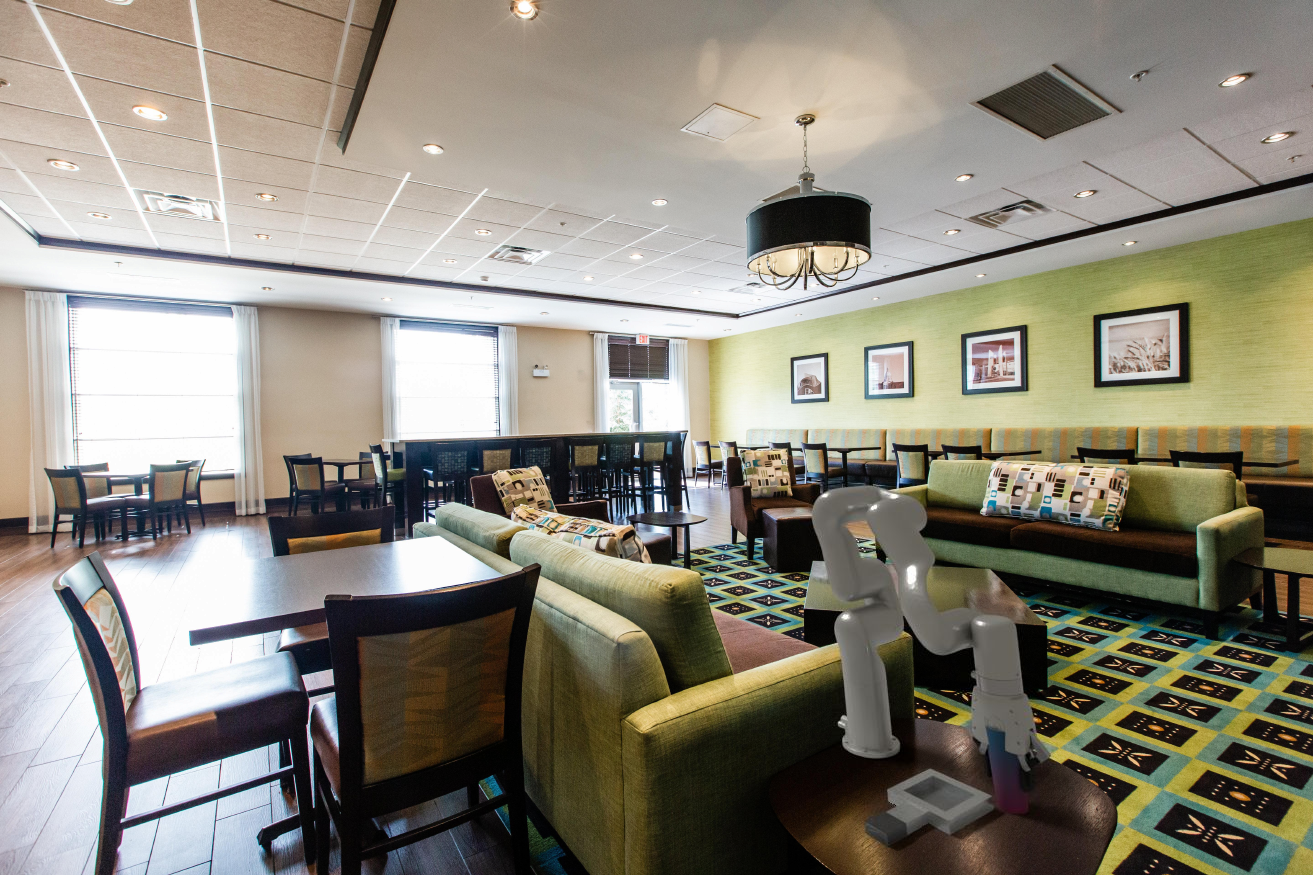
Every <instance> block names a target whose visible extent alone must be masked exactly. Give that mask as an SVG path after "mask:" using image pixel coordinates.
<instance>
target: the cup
mask: <svg viewBox="0 0 1313 875" xmlns="http://www.w3.org/2000/svg"><path fill="white" fill-rule="evenodd" d="M985 727H986V732H987V737H988V742H989V745H987V747H988V753H989V759H990V764H991V770H992V781H993V787H994V792H995V797H996V798H995V800H996V804H997V807H998V808H999V809H1000V810H1002V811H1004V812H1006V813H1008V814H1013V815H1024V814H1027V813H1028V812H1029V792H1027V793H1025V792H1023V791H1022V788H1021V779H1020V769H1022V765H1021V763H1020V761H1019V759H1018V755H1015V754H1012V753H1009V752H1007V751H1005V735H1006V734H1005V732H1004V731H999V730H995V729H992V728H990V727H988V726H986V725H985ZM1025 756H1026V754H1025Z"/></svg>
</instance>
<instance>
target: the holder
mask: <svg viewBox="0 0 1313 875" xmlns="http://www.w3.org/2000/svg"><path fill="white" fill-rule="evenodd" d="M887 800H888V803H889V802H890V803H889V804H891V803H892V804H891V805H893V804H895V805H896V806H895V805H894V807H892V808H891V809H889V810H886V811H885V810H882V811H881V812H879V813H877V814H875V815H873V816H871V817H869V818H867V819H865V820H864V823H865V825H864V827H865V833H866V835H868V836H870V837H872V838H873V839H874V840H877V841H878V842H879V843H881V844H883V845H884V846H886V847H891V846H893V845H895V843H896V844H897V842H898V843H899V841H902V840H903V839H904V838H907V837H908V836H909V835H910V834H912V833H914V832H915V831H917V830H919V829H921V828H922V826H923V827H925V826H926V825H928V823H929V825H930V824H931V826H933V827H934V828H936V829H938V830H940V831H941V832H944V833H945V834H948V835H949V836H951V835H953V834H954V833H957V832H958V831H959V830H961V829H964V828H965V827H966V825H967V826H968V825H970V824H972V823H973V822H975V821H977V820H978V819H981V818H982V817H983V816H985V815H987V814H989V813H990V812H992V811H994V810H995V808H994V799H993V795H991V794H988V793H986V792H984V791H982V790H980V789H978V788H975V787H973V786H971V785H968V784H966V783H964V782H961V781H959V780H956V779H955V778H952V777H950V776H948V775H947V774H946V775H945V774H944V773H941V772H939V771H936V770H934V769H932V768H929V769H926V770H924V771H923V772H921V773H918V774H916V775H914V776H912V777H910V778H907V779H906V780H904V781H902V782H900V783H898V784H896V785H893V786H892V787H889V788H887ZM924 825H925V826H924Z"/></svg>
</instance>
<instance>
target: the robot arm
mask: <svg viewBox="0 0 1313 875" xmlns="http://www.w3.org/2000/svg"><path fill="white" fill-rule="evenodd" d="M811 521H812V525H813V529H814V532H815V534H816V536H817V540H818V542H819V546H820V547H821V551H822V556H823V562H824V564H825V568H826V573H827V577H828V582H829V586H830V588H831V592H832V594H833V596H834V598H835V599H837V601H840V602H841V603H855V602H859V601H863V600H864V602H865V605H859V606H856V607H852V608H849V609H847V610H845V611H843V612H842V613H840V614H839V615H838V616H837V618H836V620H835V622H834V635H835V640H836V643H837V646H838V649H839V653H840V660H841V667H842V677H843V678H842V679H843V685H844V686H843V687H844V698H845V708H846V709H845V710H846V715H845V714H843V715H842V716H841V717H840V720H839V721H838V722H837V726H838V727H839V728H842V729H844V731H845V734H844V735H843V737H842V746H843V749H845V750H846V751H848V752H849V753H851V754H853V755H856V756H859V757H861V758H862V757H863V758H868V759H884V758H885V759H886V758H889V757H890V758H891V757H892V756H895V755H897V754H898V753H899V752H900V749H901V743H900V741H899V739H898V738H897V737H896V736H894V735H892V725H891V724H892V723H891V715H890V714H891V713H890V703H889V693H888V684H887V683H888V682H887V675H886V667H885V664H884V661H883V659H882V658H881V656H880V654H879V652H878V649H877V648H878V647H881V646H883V645H886V644H889V643H892V642H894V641H896V640H898V639H899V638H900V637H901V635H903V632H904V628H905V627H904V626H905V625H904V622H905V621H904V618H905V620H906V622H907V623H908V625H909V627H910V628H911V630H912V631H913V634H914V635H915V637H916V638H917V640H918V641H919V642H920V643H921V645H922V646H923V647H924V648H926V650H928V651H929V652H930V653H933V654H935V655H939V656H946V655H949V654H953V653H956V652H959V651H961V650H964V649H969V648H973V649H972V650H973V658H974V666H975V670H972V671H971V673H970V676H971V678H973V679H975V681H976V685H974V686H973V690H972V696H971V712H970V714H971V721H970V722H968V724H967V725H965V727H964V730H966V732H967V733H968V735H969V736H970V738H972V740H973V742H974V743H975V745H976V746H977V748H978V751H979V753H980V754H981V755H982V759H983V768H984V770H985V771H984V772H985V776H986V778H993V776H992V770H991V764H990V759H989V753H988V747H987V745H989V742H988V737H987V732H986V727H985V725H986V726H988V727H990V728H992V729H995V730H999V731H1004V732H1005V734H1006V735H1005V751H1007V752H1009V753H1012V754H1015V755H1018V759H1019V761H1020V763H1021V765H1022V769H1020V779H1021V788H1022V791H1023V792H1025V793H1027V792H1028V793H1029V792H1030V791H1032V790H1034V789H1036V788H1035V787H1036V786H1037V782H1036V781H1037V779H1036V772H1035V768H1036V767H1038V766H1039V765H1041V764H1042V763H1043V762H1045V761H1046V760H1048V759H1049V758H1051V756H1052V754H1051V752H1050V751H1049V750H1048V748H1047V747H1046V746H1045V745H1044V743H1043V742H1042V741H1041V740H1040V739H1039V738H1038V737H1037V736H1038V735H1037V728H1036V723H1035V718H1034V714H1033V710H1032V707H1031V703H1030V700H1029V698H1028V695H1027V694H1026V693H1024V685H1023V679H1022V670H1021V660H1020V659H1021V658H1020V650H1019V640H1018V632H1017V626H1016V623H1015V622H1014V621H1013V620H1012V619H1010V618H1009V617H1006V616H1003V615H999V614H997V615H996V614H987V613H983V612H979V611H977V610H974V609H971V608H967V607H956V608H952V609H949V610H945V611H942V612H939V611H938V609H937V608H936V606H935V604H934V603H933V600H932V599H931V597H930V594H929V590H928V584H927V578H928V574H929V572H930V570H931V568H932V567H933V565H934V564H935V561H936V556H935V554H934V553H933V552H934V551H932V549H931V548H930V546H929V545H928V544H927V542H926V540H925V539H924V538H923V536H922V535H921V533H920V531H922V530H923V529H924V528H925V527H926V525H927V523H928V515H927V512H926V509H925V507H924V505H923V504H922V503H921V502H919V501H918V500H917V499H915V498H914V497H912V496H909V495H906V494H903V493H899V492H897V491H896V492H895V491H893V490H892V491H891V490H889V489H886V488H882V487H879V486H876V485H875V486H874V485H858V486H847V487H840V488H833V489H830V490H827V491H825V492H823V493H822V494H821V495H819V496H817V499H816V500H815V502H814V503H813V506H812V510H811ZM865 521H866V523H867V525H868V528H869V529H870V530H871V532H872V534H873V536H874V537H875V539H876V541H877V542H878V544H879V546H880V547H881V549H882V551H883V552H884V554H885V556H886V557H887V558H888V560H889V562H890V564H891V565H892V567H893V569H894V570H895V572H896V574H897V578H898V579H897V581H898V582H897V589H896V586H895V582H894V578H893V576H892V573H891V571H890V569H889V567H888V566H887V565H886V564H885V563H884V562H883V561H881V560H880V559H878V558H877V557H876V558H875V557H871V556H870V557H869V556H867V557H862V556H861V553H860V549H859V545H858V542H857V540H856V537H855V536H854V535H853V533H852V531H850V529H849V528H848V527H847V525H848V524H852V523H859V522H860V523H861V522H865ZM897 590H898V593H897ZM1032 750H1035V752H1036V755H1035V756H1034V754H1033V752H1032ZM1025 754H1026V756H1025Z"/></svg>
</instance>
